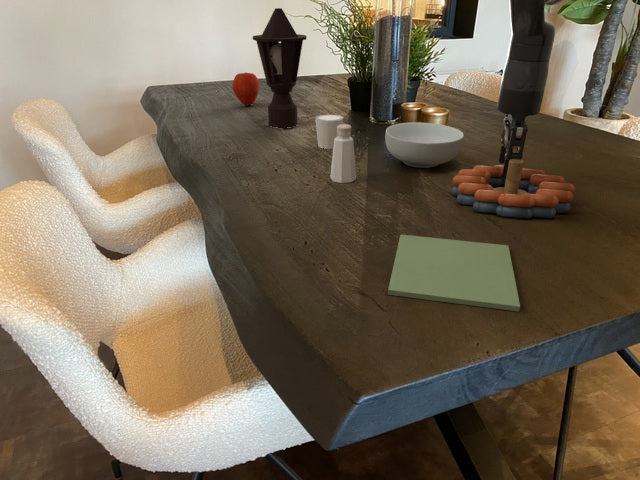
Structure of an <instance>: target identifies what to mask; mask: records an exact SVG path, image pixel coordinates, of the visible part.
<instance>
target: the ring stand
mask: <svg viewBox="0 0 640 480" xmlns="http://www.w3.org/2000/svg"><path fill="white" fill-rule="evenodd" d="M524 164H525V162H524V160H523V159H521V160H519V159H510V160H509V165H508V171H507V176H506V182H505V186H500V187H493V191H503V192H508V193H510V194H514V195H523V194H526V193H528V194H530V193H529V192H528V191H526V190H525V189H519V184H520V179H521V174H522V168H524Z"/></svg>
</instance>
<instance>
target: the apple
mask: <svg viewBox="0 0 640 480" xmlns="http://www.w3.org/2000/svg"><path fill="white" fill-rule="evenodd" d="M232 91H233V94H234V95H235V97H236V98H237V99H238V101H239V102H240V103H241V104H242V105H243V104H244V105H251V104H253V105H254V103H255V102H256V100H257V98H258V95H259V92H260V81H259V78H258V77H257V75H256V74H254V73H252V72H246V71H245V72H239V73H236V75H235V76H234V78H233V81H232ZM244 105H243V106H244Z"/></svg>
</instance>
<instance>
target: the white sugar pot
mask: <svg viewBox="0 0 640 480" xmlns="http://www.w3.org/2000/svg"><path fill="white" fill-rule="evenodd" d="M314 119H315V131H316V139H317V147H318V148H320V149H323V148H324V150H333V147H334V139H335V138H336V137H337V135H338V134H337V126H338V125H341V124H344V116H343V115H339V114H320V115H316V116H315V117H314Z"/></svg>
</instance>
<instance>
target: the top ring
mask: <svg viewBox="0 0 640 480" xmlns="http://www.w3.org/2000/svg"><path fill="white" fill-rule="evenodd" d="M503 167H504V164H502V165H501V164H496V165H494V166H493V165H478V164H477V165H475V166H473V167H472V169H469V168H462V169H459V171H458V172H457V175H455V176H453V178H452V184H453V185H454V186H459V187H458V191H459V192H460V193H461V194H469V195H475V199H476V200H477V201H482V202H494V203H499V204H500V205H503V206H514V207H525V208H531V207H533V206H541V207H556V206H557V205H558V203H559V202H565V203H567V202H570V201H571V200H572V201H573V199H574V193H575V191H576V187H575V185H574V184H573V183H569V182H566V180H565V178H564V177H563V176H562V175H554V174H553V175H552V174H547V171H545V170H544V169H536V168H524V167H523V168H522V174H521V179H528V180H530V182H531V184H533V185H539V187H538V188H539V190H537V192H536V194H528V193H529V192H528V193H526V194H523V195H514V194H510V193H508V192H503V191H493V188H494V187H492V186H491V185H486V181H488V180H489V179H490V177H502V172H503Z"/></svg>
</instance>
